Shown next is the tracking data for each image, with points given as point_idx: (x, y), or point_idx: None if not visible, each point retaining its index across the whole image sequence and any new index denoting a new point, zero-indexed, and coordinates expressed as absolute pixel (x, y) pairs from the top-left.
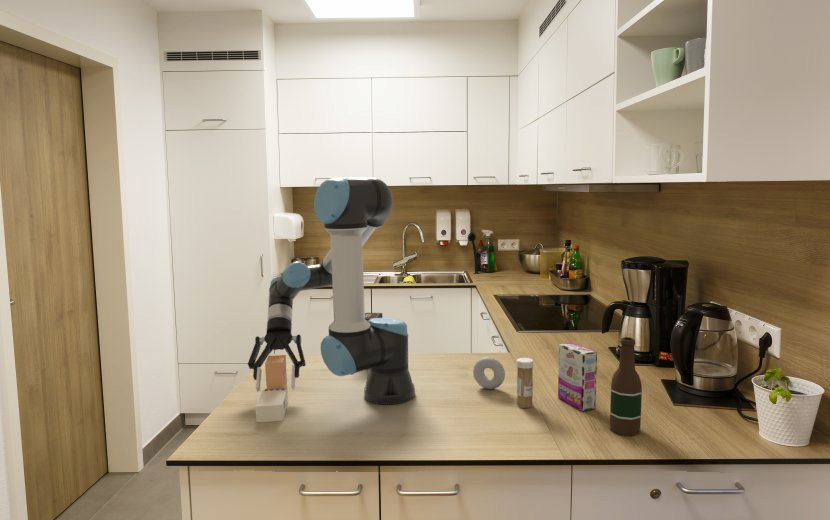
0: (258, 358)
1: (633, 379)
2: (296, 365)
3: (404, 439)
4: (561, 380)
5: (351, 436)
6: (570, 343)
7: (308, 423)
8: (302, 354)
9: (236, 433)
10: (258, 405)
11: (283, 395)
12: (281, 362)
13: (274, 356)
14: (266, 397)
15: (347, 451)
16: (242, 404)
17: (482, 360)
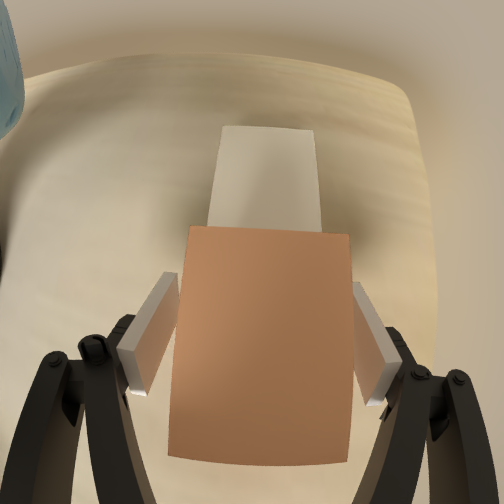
0: (425, 420)
1: None
2: (107, 354)
3: (43, 98)
4: None
5: (98, 97)
6: None
7: (159, 141)
8: (31, 401)
9: (339, 125)
10: (305, 134)
11: (217, 198)
12: (200, 228)
13: (284, 439)
14: (289, 192)
15: (124, 65)
16: (387, 319)
17: None
